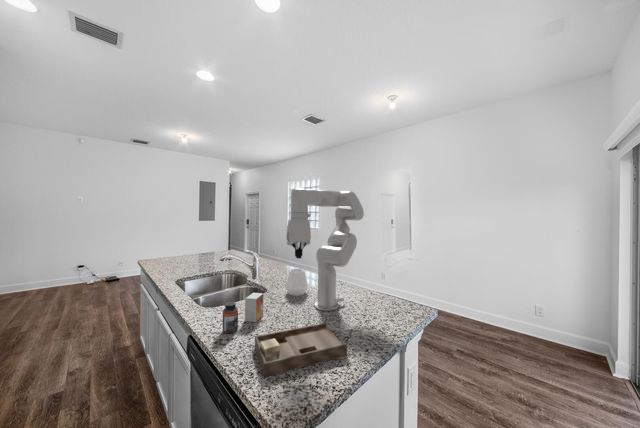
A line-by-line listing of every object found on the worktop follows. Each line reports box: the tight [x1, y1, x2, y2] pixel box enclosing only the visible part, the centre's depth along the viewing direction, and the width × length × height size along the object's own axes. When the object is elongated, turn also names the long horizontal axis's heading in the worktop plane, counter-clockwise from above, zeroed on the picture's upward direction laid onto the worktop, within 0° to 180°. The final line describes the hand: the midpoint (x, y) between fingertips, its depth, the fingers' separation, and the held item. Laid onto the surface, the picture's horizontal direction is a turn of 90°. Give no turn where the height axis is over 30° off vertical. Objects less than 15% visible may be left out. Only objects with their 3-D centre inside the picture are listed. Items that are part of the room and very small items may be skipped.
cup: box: [285, 268, 309, 297], centre depth 148 cm, size 13×13×14 cm
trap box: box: [254, 322, 348, 378], centre depth 88 cm, size 29×17×4 cm, turn 114°
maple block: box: [261, 338, 280, 358], centre depth 82 cm, size 5×5×3 cm
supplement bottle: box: [222, 301, 239, 334], centre depth 102 cm, size 6×6×11 cm
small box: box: [244, 292, 264, 323], centre depth 113 cm, size 8×6×10 cm
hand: (298, 257), depth 109 cm, fingers closed
